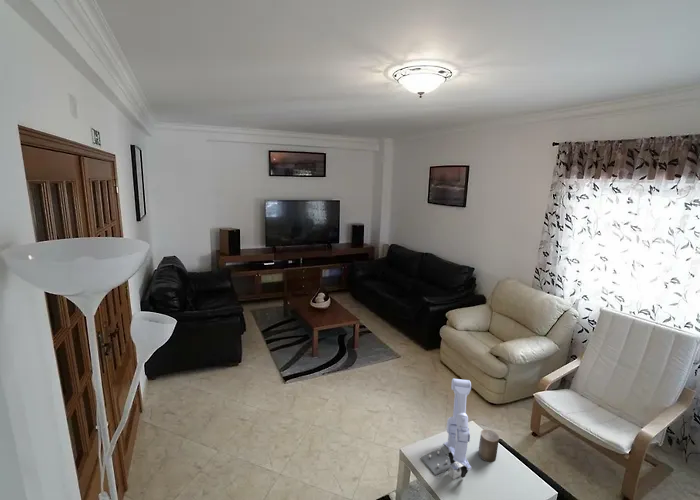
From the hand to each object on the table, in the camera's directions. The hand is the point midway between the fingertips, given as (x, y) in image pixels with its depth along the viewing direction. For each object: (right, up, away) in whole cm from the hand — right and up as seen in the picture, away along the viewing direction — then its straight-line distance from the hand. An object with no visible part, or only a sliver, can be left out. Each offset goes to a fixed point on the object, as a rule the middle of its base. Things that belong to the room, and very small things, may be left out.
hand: (457, 471), depth 187 cm
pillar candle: (+20, +1, +13) cm, 24 cm away
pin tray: (-9, +1, +7) cm, 11 cm away
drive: (0, -2, 0) cm, 2 cm away
